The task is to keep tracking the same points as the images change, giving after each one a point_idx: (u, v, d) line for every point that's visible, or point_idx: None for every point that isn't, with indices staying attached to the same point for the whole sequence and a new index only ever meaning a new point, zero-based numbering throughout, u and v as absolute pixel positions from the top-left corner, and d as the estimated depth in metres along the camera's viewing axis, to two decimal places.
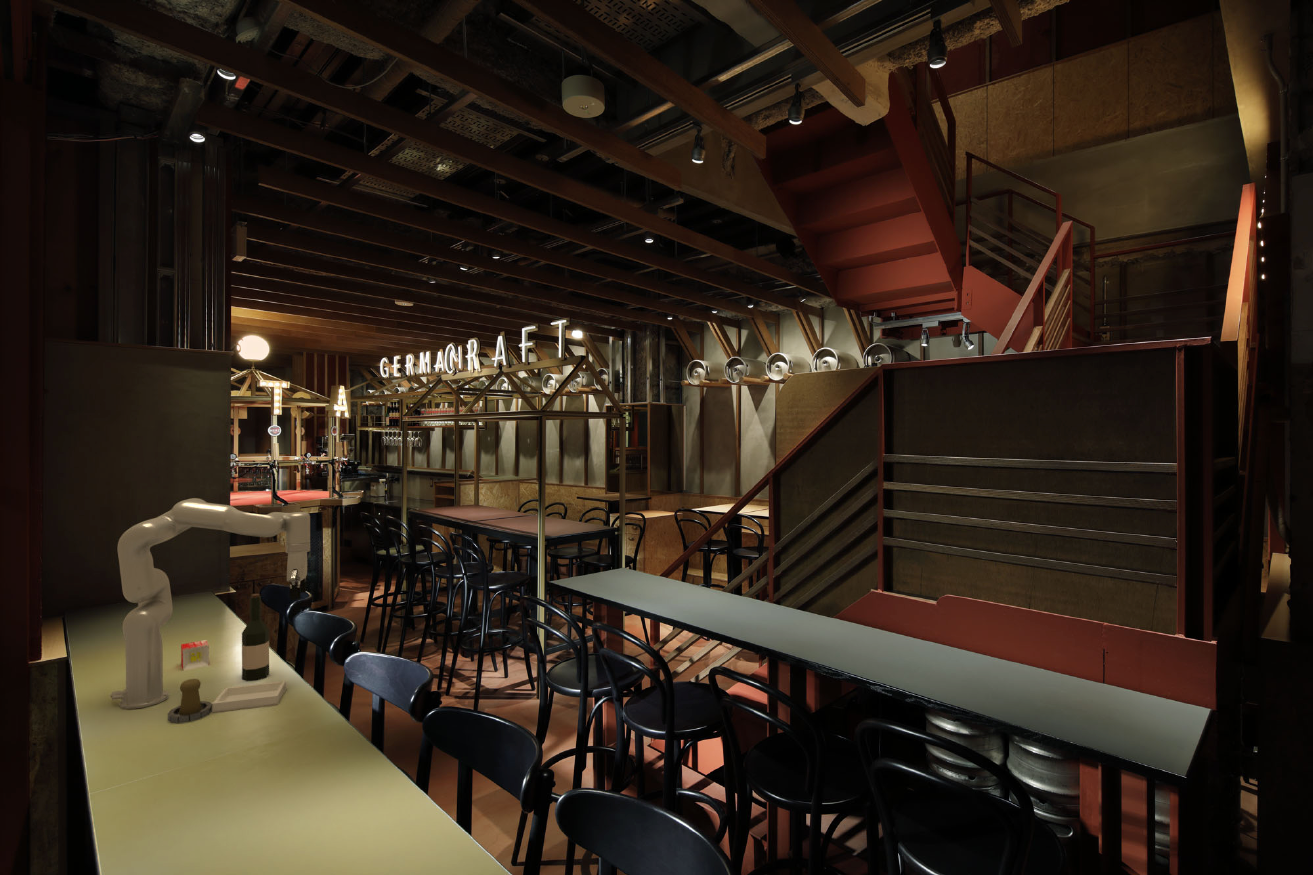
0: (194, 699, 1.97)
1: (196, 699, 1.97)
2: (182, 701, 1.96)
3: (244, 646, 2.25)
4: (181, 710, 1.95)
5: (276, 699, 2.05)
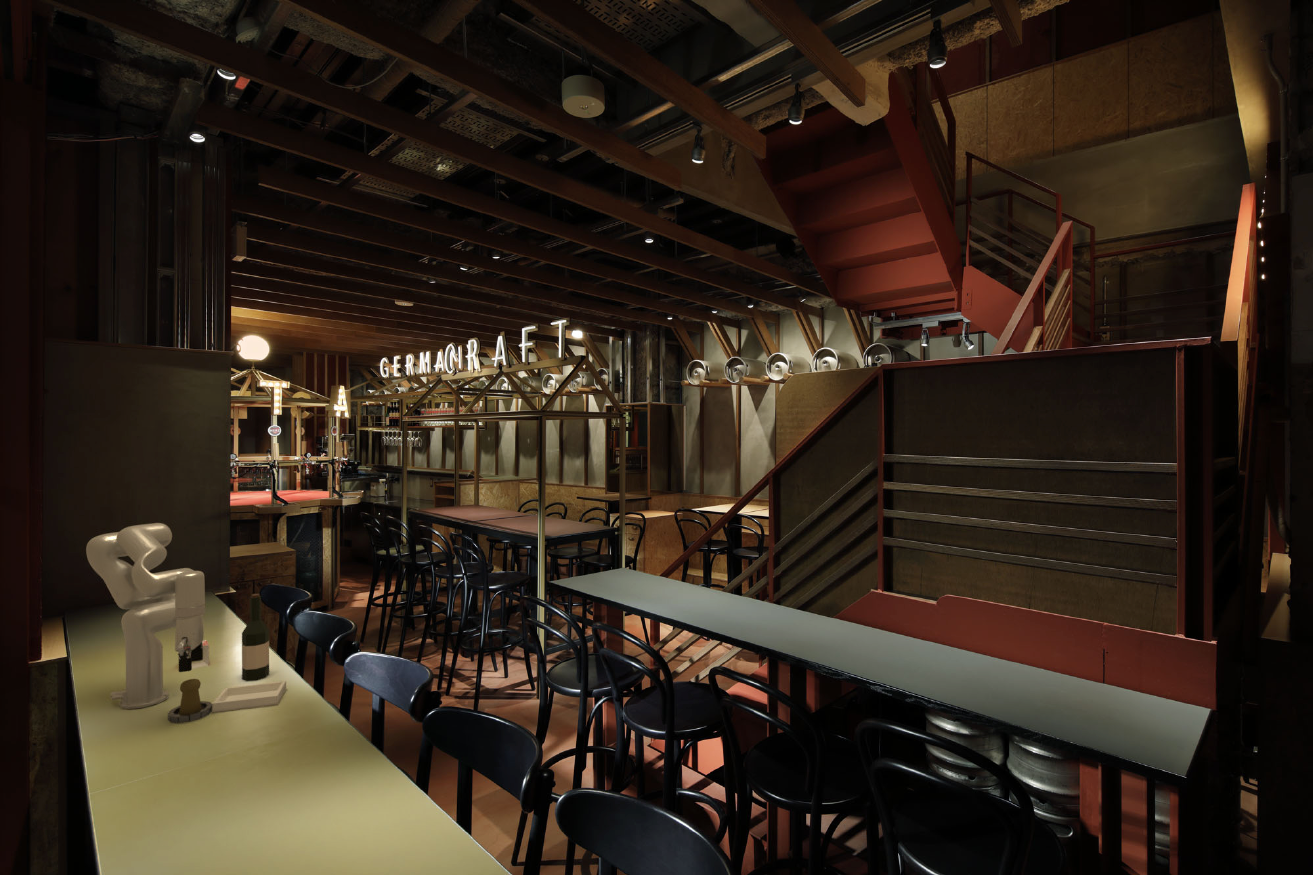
0: (194, 699, 1.97)
1: (196, 699, 1.97)
2: (182, 701, 1.96)
3: (244, 646, 2.25)
4: (181, 710, 1.95)
5: (276, 699, 2.05)
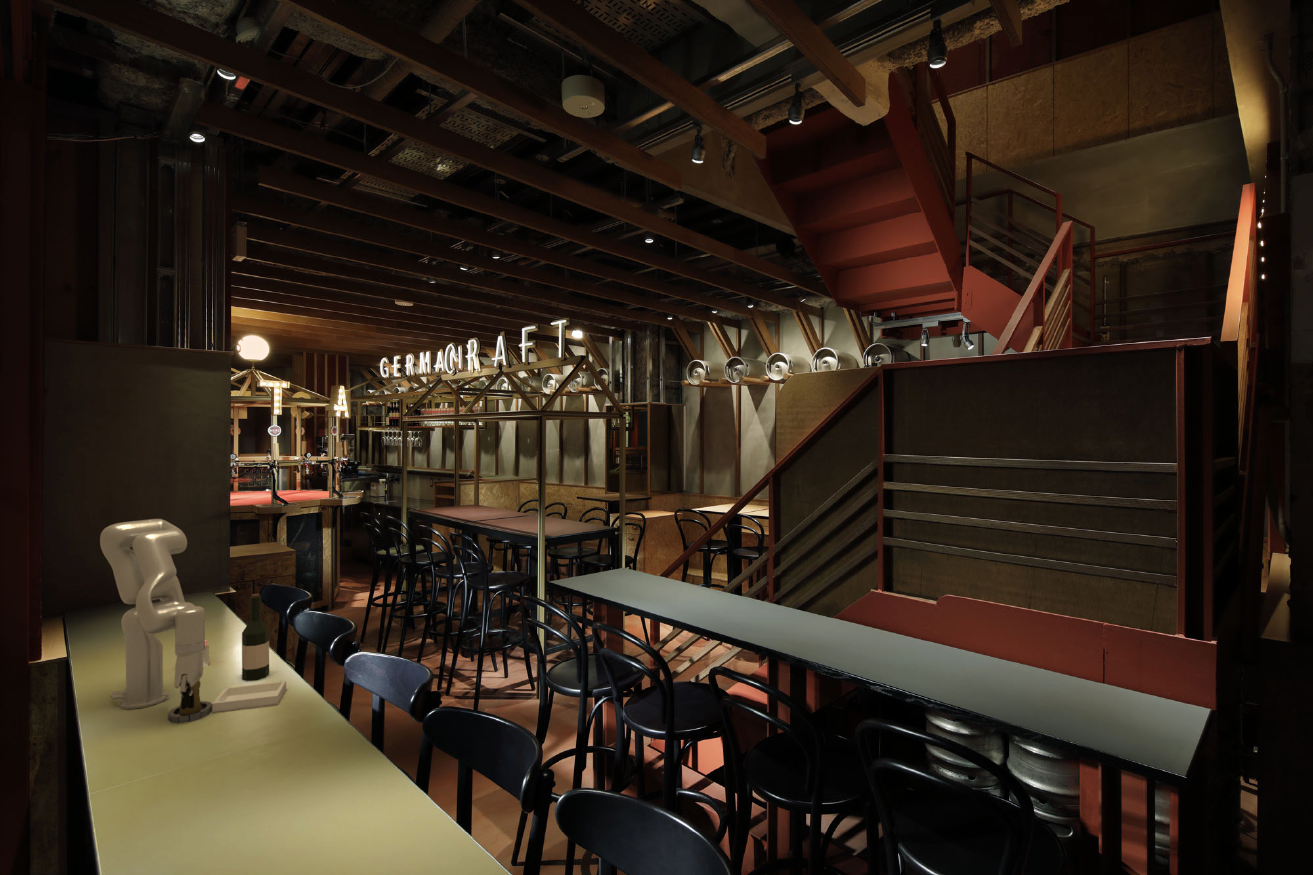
0: (194, 699, 1.97)
1: (196, 699, 1.97)
2: None
3: (244, 646, 2.25)
4: (181, 710, 1.95)
5: (276, 699, 2.05)
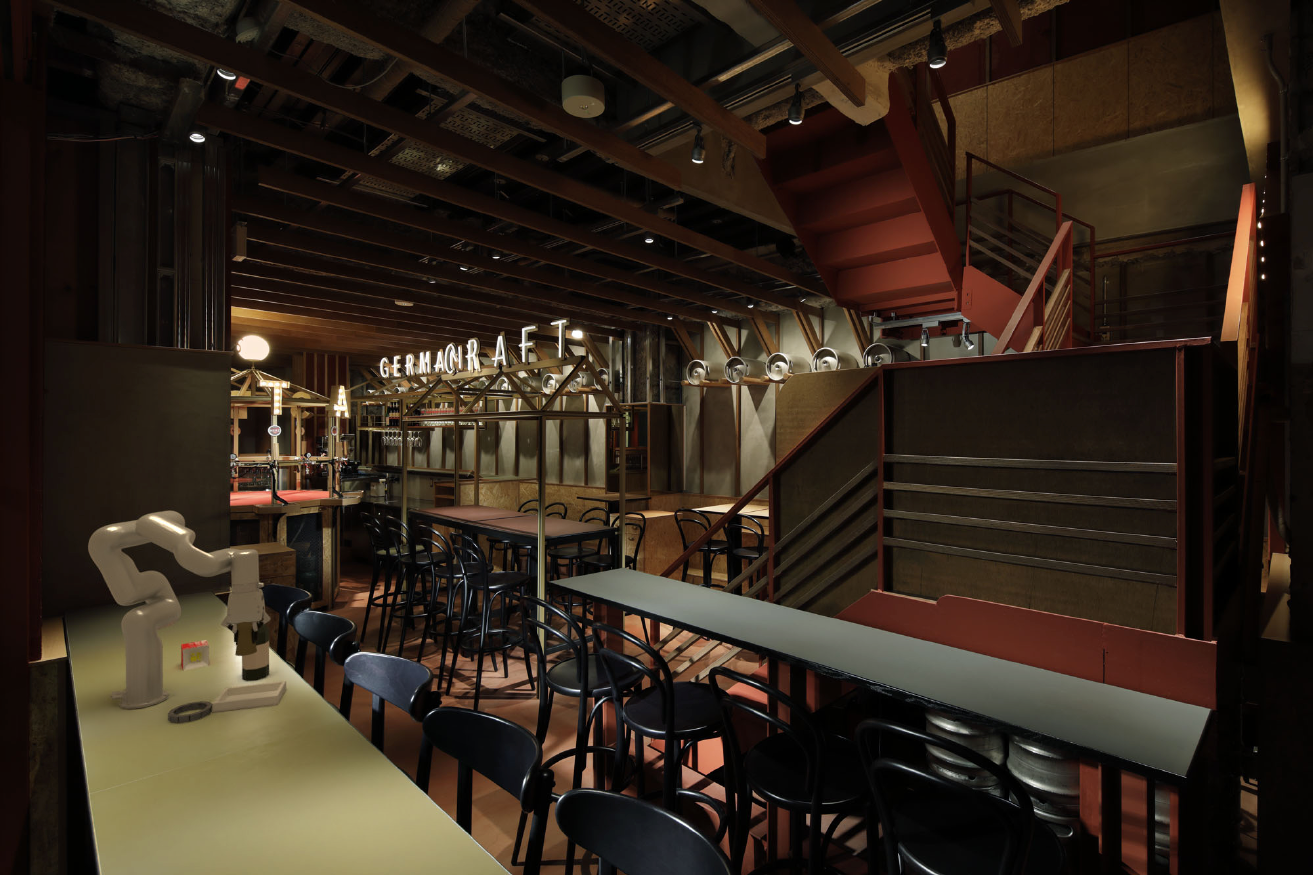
0: (238, 638, 2.05)
1: (239, 639, 2.05)
2: None
3: None
4: None
5: (276, 699, 2.05)
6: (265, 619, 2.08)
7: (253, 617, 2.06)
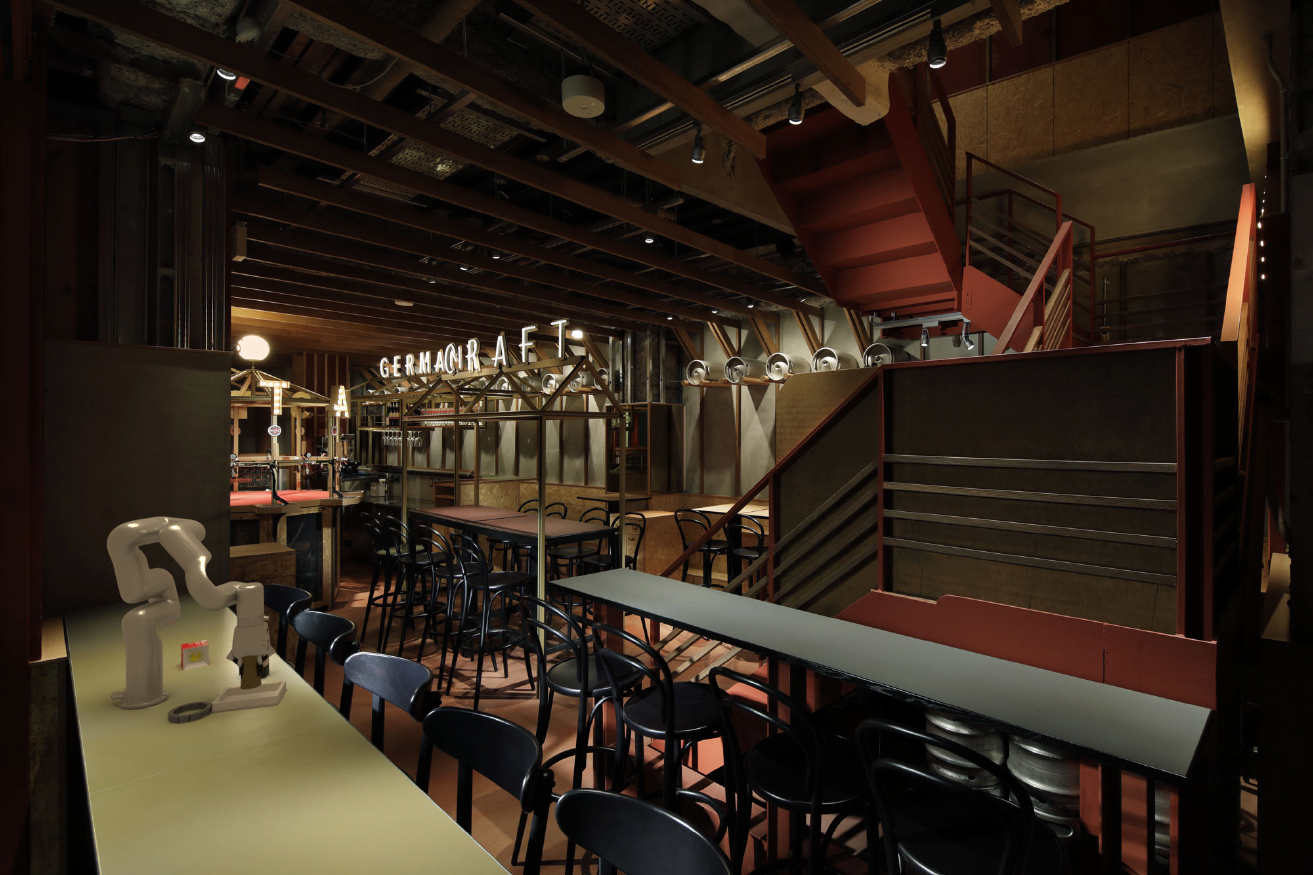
0: (243, 672, 2.06)
1: (244, 672, 2.06)
2: None
3: None
4: None
5: (276, 699, 2.05)
6: (270, 652, 2.10)
7: (258, 650, 2.07)
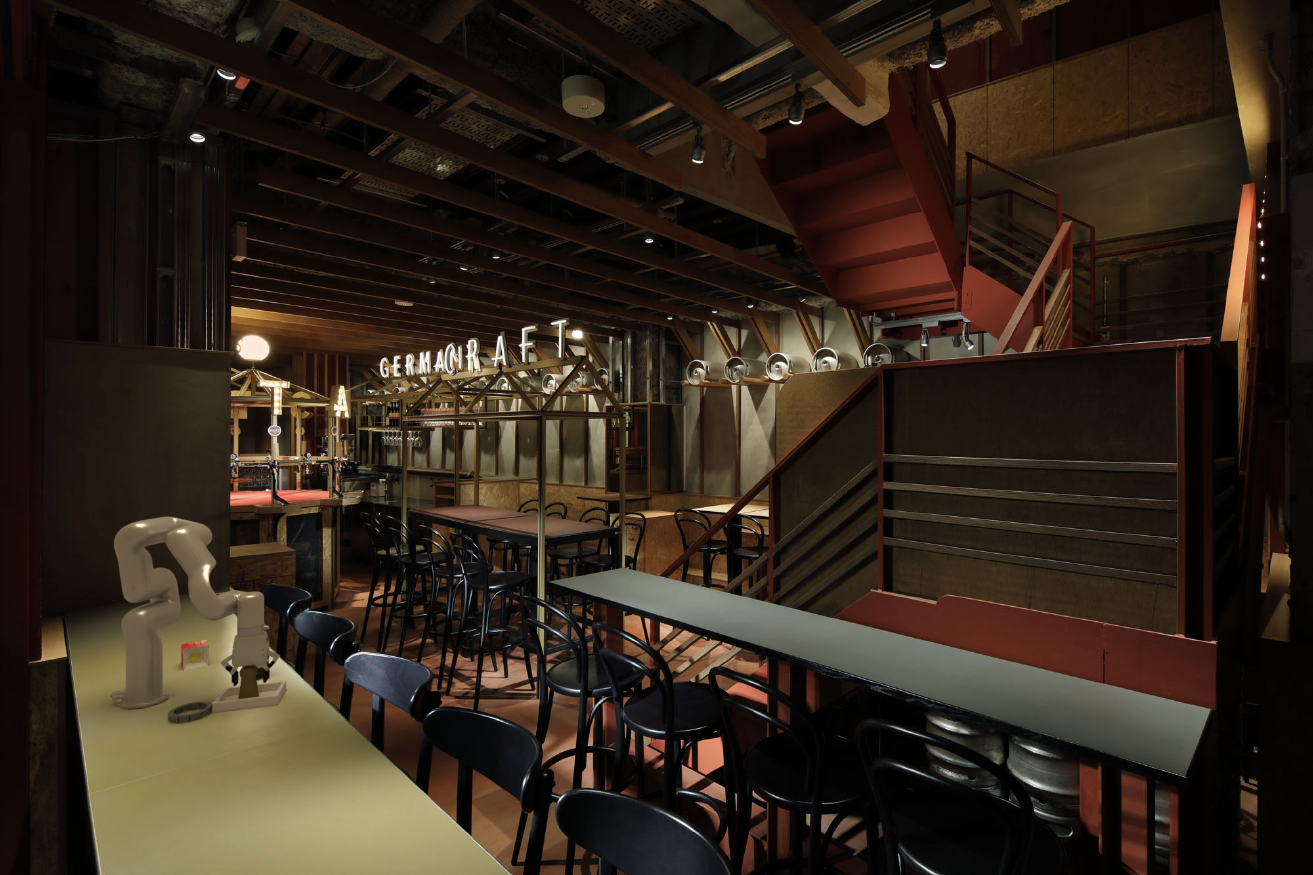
0: (241, 686, 2.06)
1: (243, 686, 2.06)
2: None
3: None
4: None
5: (276, 699, 2.05)
6: (274, 657, 2.10)
7: (258, 660, 2.07)
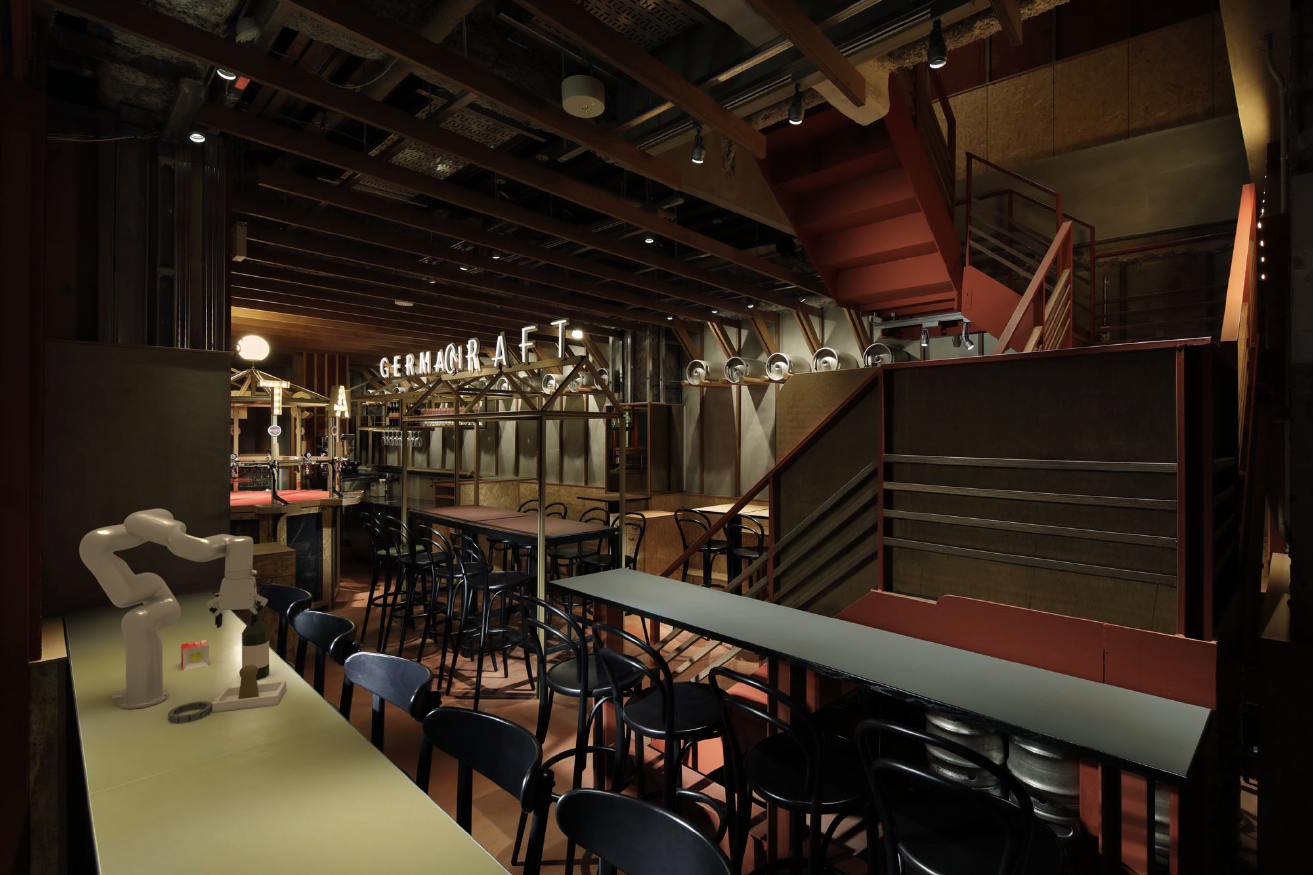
0: (241, 686, 2.06)
1: (242, 686, 2.06)
2: None
3: (244, 646, 2.25)
4: None
5: (276, 699, 2.05)
6: (263, 601, 2.10)
7: (244, 604, 2.07)
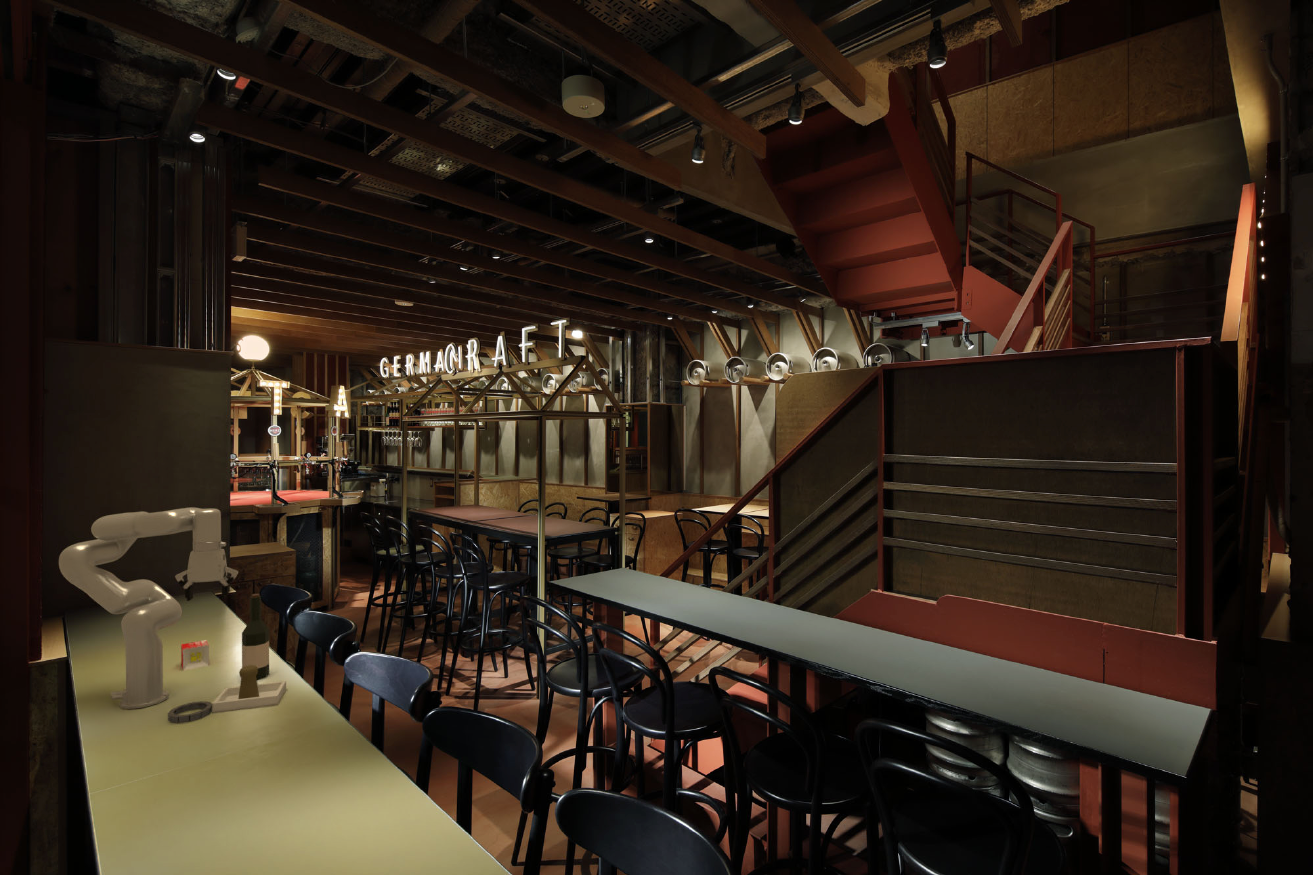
0: (241, 686, 2.06)
1: (242, 686, 2.06)
2: None
3: (244, 646, 2.25)
4: None
5: (276, 699, 2.05)
6: (233, 573, 2.08)
7: (214, 576, 2.05)
